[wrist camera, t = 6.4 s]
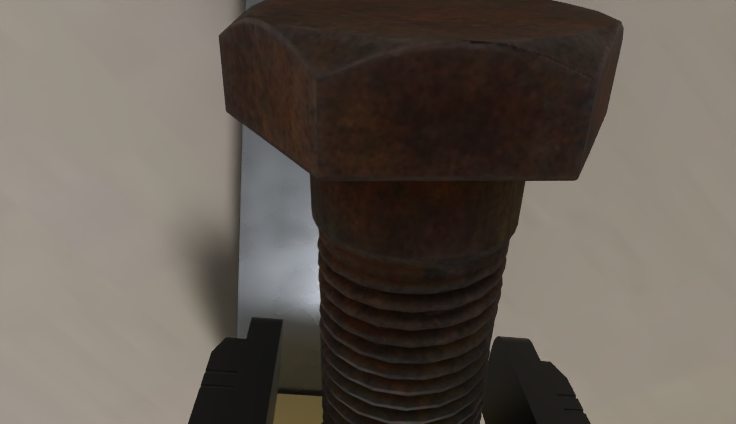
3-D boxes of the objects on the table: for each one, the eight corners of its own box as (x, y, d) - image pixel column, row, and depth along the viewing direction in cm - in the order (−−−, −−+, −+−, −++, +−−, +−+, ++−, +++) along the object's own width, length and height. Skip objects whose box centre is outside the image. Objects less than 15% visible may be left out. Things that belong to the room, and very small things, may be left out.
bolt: (356, 479, 18) (363, -18, 11) (509, 552, 16) (637, -1, 9) (242, 668, 13) (129, 16, 6) (438, 806, 11) (586, 69, 4)
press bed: (542, -95, 19) (648, -120, 13) (428, 408, 30) (453, 543, 23) (258, -137, 19) (209, -189, 12) (241, 396, 29) (209, 533, 22)
